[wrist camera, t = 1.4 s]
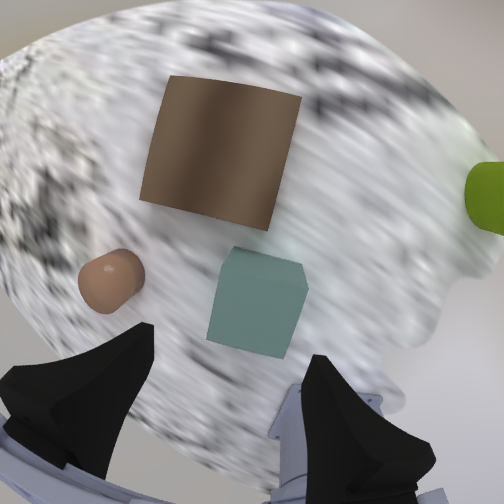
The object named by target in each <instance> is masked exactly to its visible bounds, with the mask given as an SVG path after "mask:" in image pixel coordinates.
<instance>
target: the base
mask: <svg viewBox="0 0 504 504" xmlns="http://www.w3.org/2000/svg"><path fill="white" fill-rule="evenodd" d="M301 99H302V97H300V96H296V95H292V94H288V93H284V92H279V91H275V90H270V89H266V88H261V87H256V86H250V85H245V84H239V83H233V82H227V81H220V80H212V79H204V78H195V77H185V76H172V75H170V78H169V81H168V84H167V87H166V90H165V94H164V97H163V100H162V104H161V107H160V111H159V114H158V118H157V121H156V125H155V129H154V133H153V137H152V141H151V145H150V149H149V154H148V158H147V163H146V167H145V172H144V177H143V182H142V187H141V192H140V198H139V200H142V201H147V202H151V203H155V204H159V205H164V206H168V207H172V208H176V209H180V210H185V211H189V212H193V213H197V214H201V215H205V216H209V217H213V218H217V219H221V220H225V221H229V222H233V223H237V224H241V225H245V226H249V227H252V228H256V229H260V230H264V231H268V228H269V224H270V221H271V217H272V213H273V209H274V205H275V201H276V198H277V194H278V190H279V186H280V182H281V178H282V174H283V170H284V166H285V163H286V159H287V155H288V151H289V147H290V143H291V139H292V135H293V131H294V127H295V123H296V119H297V115H298V111H299V107H300V103H301Z"/></svg>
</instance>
